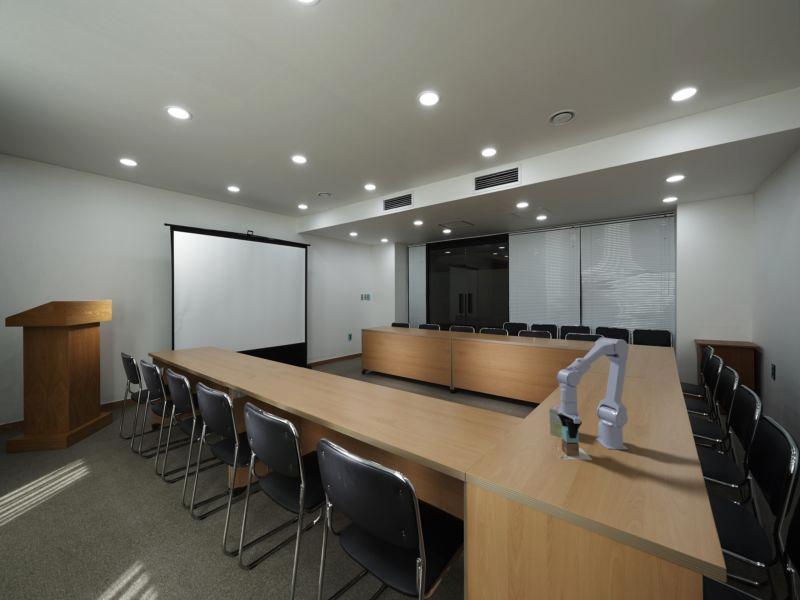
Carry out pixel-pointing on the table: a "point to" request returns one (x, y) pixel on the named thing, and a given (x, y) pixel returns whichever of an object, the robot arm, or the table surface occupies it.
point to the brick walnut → (570, 448)
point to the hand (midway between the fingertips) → (569, 435)
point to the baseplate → (581, 456)
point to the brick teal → (566, 435)
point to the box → (555, 421)
